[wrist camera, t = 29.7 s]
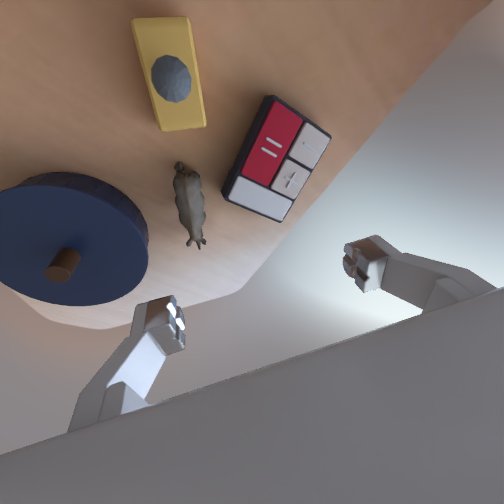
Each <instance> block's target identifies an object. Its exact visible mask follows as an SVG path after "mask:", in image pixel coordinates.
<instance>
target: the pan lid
mask: <svg viewBox="0 0 504 504" xmlns="http://www.w3.org/2000/svg"><path fill="white" fill-rule="evenodd" d="M147 265H148V249H147V245H146V242H145V240H144V237H143V235H142V233H141V232H140V230H139V229H138V227H137V226H136V225H135V224H134V222H133V221H132V220H131V219H130V218H129V217H128V216H127V215H126V214H125V213H124V212H122V211H121V210H120V209H118V208H117V207H116V206H114V205H113V204H111V203H109V202H108V201H106V200H104V199H102V198H100V197H98V196H96V195H94V194H91V193H89V192H86V191H83V190H80V189H76V188H72V187H69V186H63V185H56V184H42V183H41V184H26V185H20V186H15V187H12V188H9V189H5V190H3V191H1V192H0V281H1V282H2V283H3V284H5V285H7V286H8V287H10V288H11V289H13V290H15V291H17V292H19V293H21V294H24V295H26V296H29V297H31V298H34V299H37V300H40V301H44V302H48V303H52V304H58V305H66V306H91V305H98V304H103V303H107V302H110V301H113V300H116V299H118V298H120V297H123V296H124V295H126V294H128V293H129V292H130V291H132V290H133V289H134V288H135V287H136V286H137V285H138V284H139V283H140V281H141V280H142V279H143V277H144V275H145V272H146V269H147Z"/></svg>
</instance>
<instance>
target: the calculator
mask: <svg viewBox="0 0 504 504" xmlns="http://www.w3.org/2000/svg"><path fill="white" fill-rule="evenodd" d="M331 138H332V137H331V135H330V134H328V133H327V132H325V131H324V130H323V129H321V128H320V127H318V126H317V125H316V124H314V123H313V122H311V121H310V120H309V119H307V118H306V117H304V116H303V115H302V114H300V113H299V112H297V111H296V110H295V109H293V108H292V107H290V106H289V105H288V104H286V103H285V102H283V101H282V100H281V99H279V98H278V97H276V96H275V95H267V96H265V97H264V99H263V101H262V104H261V106H260V108H259V110H258V112H257V115H256V117H255V119H254V121H253V123H252V125H251V128H250V130H249V132H248V134H247V136H246V139H245V141H244V143H243V145H242V147H241V150H240V152H239V154H238V156H237V158H236V161H235V163H234V165H233V167H232V168H231V170H230V171H229V173H228V176H227V178H226V180H225V182H224V184H223V187H222V189H221V193H222V195H223V197H224V199H225V200H226V201H228V202H231V203H233V204H235V205H238V206H240V207H243V208H245V209H247V210H250V211H252V212H255V213H257V214H260V215H262V216H264V217H267V218H269V219H272V220H274V221H276V222H279V223H281V222H282V221H283V220H284V218H285V216H286V215H287V213H288V211H289V210H290V208H291V206H292V205H293V203H294V201H295V200H296V198H297V196H298V194H299V193H300V191H301V189H302V188H303V186H304V184H305V183H306V181H307V179H308V178H309V176H310V174H311V173H312V171H313V169H314V168H315V166H316V164H317V163H318V161H319V159H320V158H321V156H322V154H323V152H324V151H325V149H326V147H327V146H328V144H329V142H330V141H331Z"/></svg>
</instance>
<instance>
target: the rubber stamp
mask: <svg viewBox="0 0 504 504" xmlns="http://www.w3.org/2000/svg"><path fill="white" fill-rule="evenodd" d="M130 24H131V28H132V32H133V36H134V39H135V43H136V47H137V51H138V54H139V58H140V62H141V65H142V69H143V73H144V76H145V80H146V84H147V88H148V91H149V95H150V99H151V102H152V106H153V110H154V113H155V117H156V121H157V125H158V128H159V130H161V131H162V132H165V131H174V130H183V129H192V128H201V127H205V125H206V124H207V123H206V117H205V110H204V104H203V98H202V92H201V85H200V79H199V73H198V66H197V60H196V54H195V48H194V41H193V35H192V29H191V22H190V20H189V19H188V18H187V17H186V16H181V17H155V18H132V21H131V23H130Z"/></svg>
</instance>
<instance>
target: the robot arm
mask: <svg viewBox="0 0 504 504" xmlns="http://www.w3.org/2000/svg"><path fill="white" fill-rule="evenodd" d="M344 252H345V253H346V255H345V256H344V258H343V266H344V270H345V271H346V273H347V274H348V275H349V276H350V277H352V278H354V279H355V283H356V285H357V286H358V287H359V288H360V289H361V290H362V291H363V293H364V292H368V291H371V290H375V289H378V288H381V289H382V290H384V291H386V292H388V293H391V294H392V295H395V296H397V297H399V298H401V299H403V300H405V301H407V302H409V303H411V304H413V305H415V306H417V307H419V308H421V309H423V311H422V314H420V315H417V316H414V317H411V318H408V319H405V320H402V321H399V322H397V323H393V324H390V325H388V326H385V327H381V328H378V329H376V330H372V331H370V332H366V333H363V334H361V335H358V336H355V337H352V338H349V339H346V340H343V341H340V342H337V343H334V344H331V345H328V346H325V347H322V348H319V349H316V350H313V351H310V352H307V353H304V354H301V355H298V356H295V357H292V358H289V359H286V360H283V361H280V362H277V363H274V364H271V365H268V366H265V367H262V368H259V369H256V370H253V371H250V372H247V373H244V374H241V375H238V376H235V377H232V378H229V379H226V380H223V381H220V382H217V383H214V384H211V385H208V386H205V387H202V388H199V389H196V390H193V391H190V392H187V393H184V394H181V395H179V396H175V397H172V398H169V399H166V400H163V401H161V402H157V403H154V404H151V405H149V404H148V403H147V402H146V401H145V400H144V399H145V397H146V395H147V393H148V391H149V389H150V387H151V385H152V383H153V381H154V379H155V377H156V375H157V373H158V372H159V370H160V368H161V366H162V364H163V362H164V360H165V358H166V356H167V355H170V354H173V353H176V352H179V351H182V350H184V349H185V335H184V333H183V329H184V328H185V320H184V315H183V312H182V310H181V308H180V307H179V306H176V299H175V297H174V296H173V295H170V296H166V297H163V298H159V299H155V300H152V301H149V302H145V303H141V304H138V305H137V306H136V307H135V312H134V317H133V322H132V326H131V331H130V336H129V337H127V338H125V339H124V341H123V342H122V343H121V344H120V345H119V347H118V348H117V349H116V350H115V352H114V353H113V354H112V355H111V356H110V358H109V359H108V360H107V361H106V362H105V364H104V365H103V366H102V367H101V368H100V370H99V371H98V372H97V373H96V375H95V376H94V377H93V378H92V380H91V381H90V382H89V383H88V384H87V385H86V387H85V388H84V389H83V390H82V392H81V393H80V394H79V397H78V400H77V404H76V406H75V409H74V413H73V416H72V419H71V422H70V425H69V428H68V431H67V433H65V434H61V435H58V436H55V437H52V438H50V439H46V440H44V441H41V442H38V443H35V444H32V445H29V446H26V447H23V448H20V449H17V450H14V451H11V452H8V453H5V454H2V455H0V504H504V287H501V288H496V287H494V286H493V285H491V284H490V283H488V282H487V281H485V280H483V279H482V278H480V277H479V276H478V275H476V274H474V273H473V272H471V271H470V270H468V269H465V268H461V267H457V266H454V265H450V264H446V263H442V262H439V261H435V260H431V259H427V258H424V257H420V256H416V255H412V254H409V253H401V252H399V251H398V250H397V249H396V248H394V247H393V246H392V245H390V244H389V243H388V242H386V241H385V240H384V239H383V238H381V237H380V236H378V235H373V236H370V237H367V238H364V239H361V240H357V241H354V242H351V243H347V244H345V246H344Z"/></svg>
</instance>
